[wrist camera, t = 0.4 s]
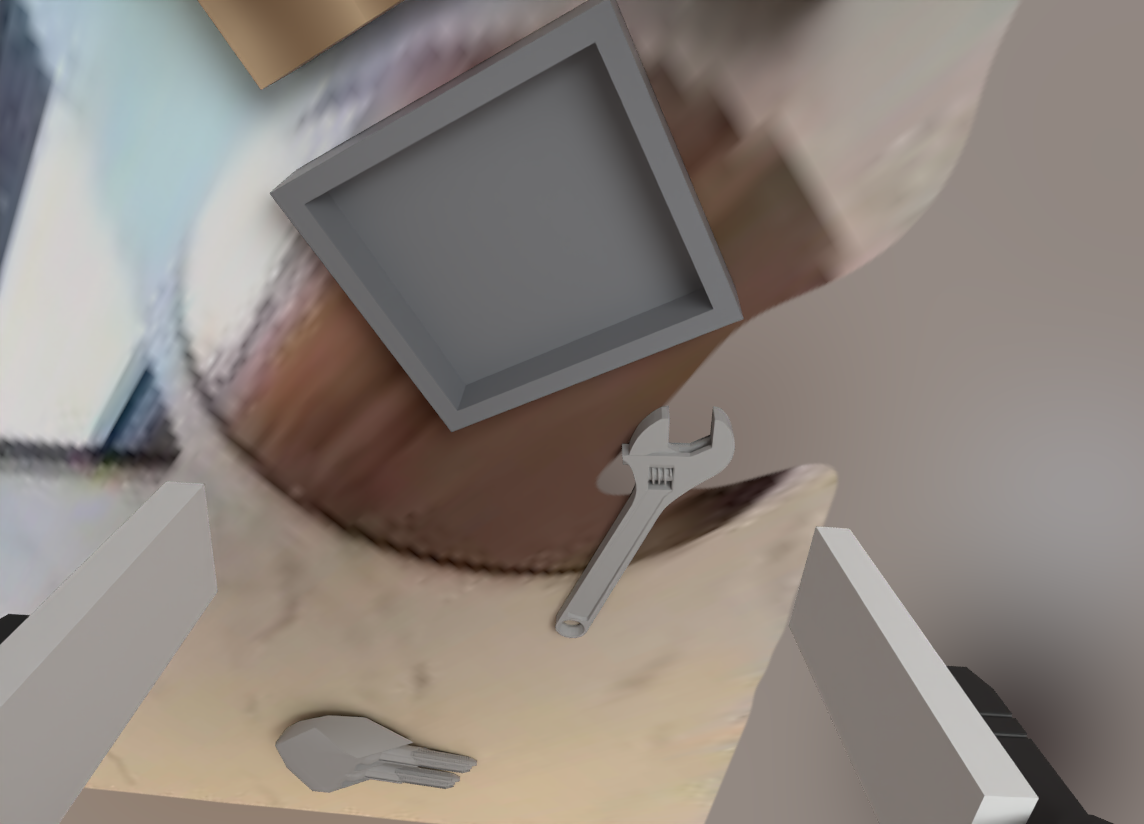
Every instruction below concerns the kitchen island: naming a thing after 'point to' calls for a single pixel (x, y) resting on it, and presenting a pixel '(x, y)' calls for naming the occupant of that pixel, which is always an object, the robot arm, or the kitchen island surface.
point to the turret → (362, 755)
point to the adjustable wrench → (645, 505)
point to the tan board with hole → (288, 30)
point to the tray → (520, 223)
